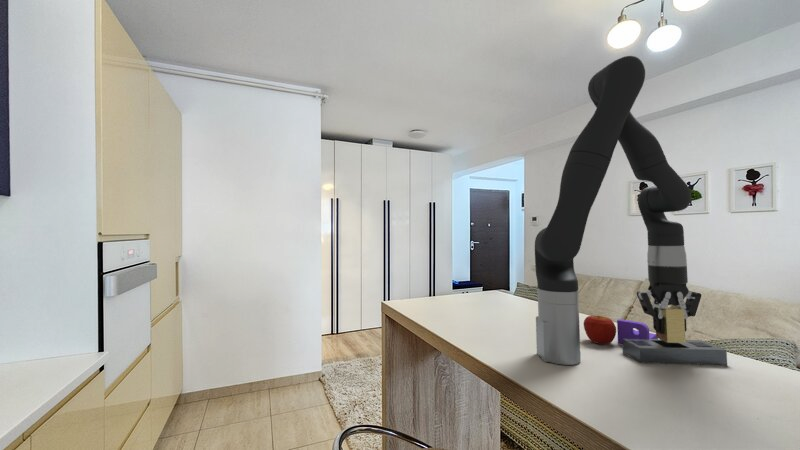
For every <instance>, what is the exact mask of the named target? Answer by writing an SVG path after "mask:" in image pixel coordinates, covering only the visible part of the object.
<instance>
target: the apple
mask: <svg viewBox="0 0 800 450" xmlns="http://www.w3.org/2000/svg"><path fill="white" fill-rule="evenodd" d="M583 329H584V331H585V334H586V336H587V338H588V339H589V340H590V341H591V342H593V343H595V344H599V345H606V344H607V345H608V344H610V343H612V342H613V341H614V339H615V337H616V334H617V326H616V325H615V323H614V321H613V320H612V319H611V318H609V317H606V316H602V315H588V316H587V317H586V318H584V321H583Z"/></svg>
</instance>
